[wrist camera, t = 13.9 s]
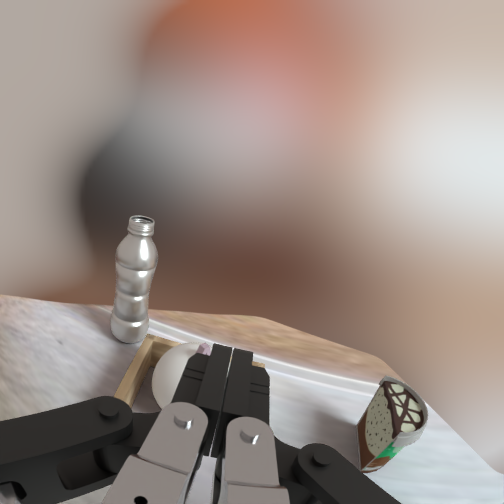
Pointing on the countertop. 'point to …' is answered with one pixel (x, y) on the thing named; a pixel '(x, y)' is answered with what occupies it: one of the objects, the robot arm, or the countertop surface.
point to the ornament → (174, 370)
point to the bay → (146, 366)
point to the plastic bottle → (134, 281)
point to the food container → (389, 423)
